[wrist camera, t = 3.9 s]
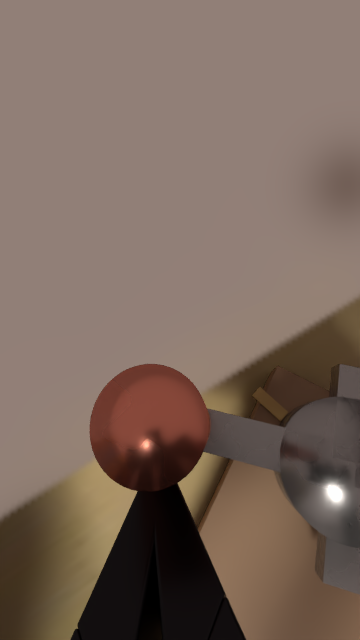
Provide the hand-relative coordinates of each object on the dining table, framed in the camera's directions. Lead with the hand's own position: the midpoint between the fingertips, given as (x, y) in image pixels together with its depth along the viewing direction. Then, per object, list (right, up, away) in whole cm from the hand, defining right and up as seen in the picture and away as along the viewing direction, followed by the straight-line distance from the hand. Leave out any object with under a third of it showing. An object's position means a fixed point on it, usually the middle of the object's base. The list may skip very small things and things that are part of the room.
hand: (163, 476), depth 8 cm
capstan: (+6, -2, +6) cm, 9 cm away
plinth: (+8, -7, +6) cm, 12 cm away
